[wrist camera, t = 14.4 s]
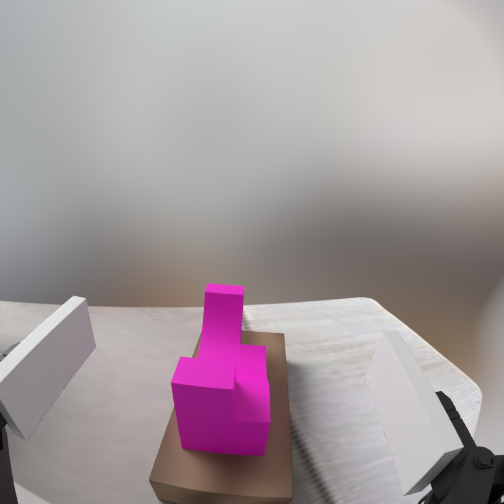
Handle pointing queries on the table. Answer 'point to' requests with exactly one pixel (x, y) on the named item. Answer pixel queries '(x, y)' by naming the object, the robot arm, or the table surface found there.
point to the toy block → (223, 383)
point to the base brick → (231, 465)
